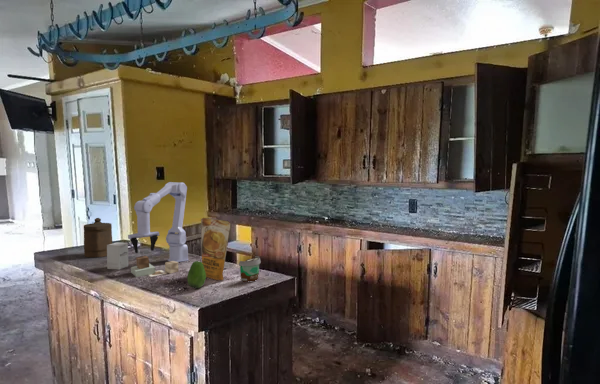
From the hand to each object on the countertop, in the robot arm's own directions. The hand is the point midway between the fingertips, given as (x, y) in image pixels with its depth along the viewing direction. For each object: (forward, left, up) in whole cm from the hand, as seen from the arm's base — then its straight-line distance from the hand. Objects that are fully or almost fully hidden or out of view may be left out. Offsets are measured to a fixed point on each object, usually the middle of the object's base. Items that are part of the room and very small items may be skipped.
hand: (144, 251), depth 185 cm
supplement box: (+9, -16, -11) cm, 21 cm away
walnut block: (+2, +3, -7) cm, 8 cm away
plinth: (+2, +3, -10) cm, 11 cm away
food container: (-35, +45, -11) cm, 58 cm away
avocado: (-10, +39, -11) cm, 42 cm away
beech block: (-10, +9, -10) cm, 17 cm away
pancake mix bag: (-23, +29, -11) cm, 39 cm away
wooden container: (+11, -53, -11) cm, 55 cm away
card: (-3, +7, -10) cm, 13 cm away
